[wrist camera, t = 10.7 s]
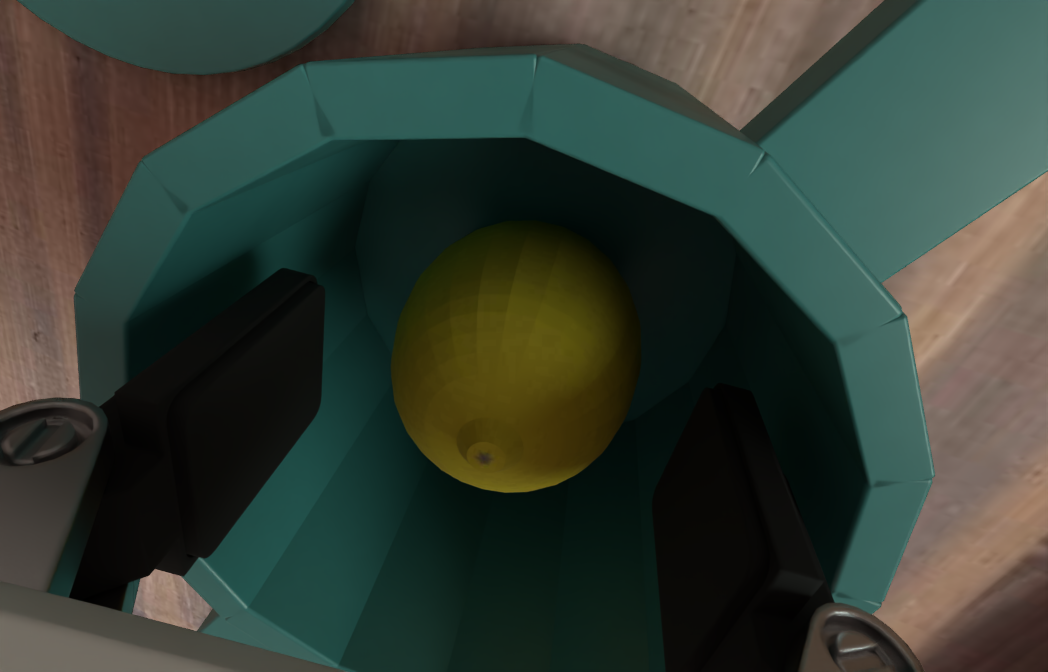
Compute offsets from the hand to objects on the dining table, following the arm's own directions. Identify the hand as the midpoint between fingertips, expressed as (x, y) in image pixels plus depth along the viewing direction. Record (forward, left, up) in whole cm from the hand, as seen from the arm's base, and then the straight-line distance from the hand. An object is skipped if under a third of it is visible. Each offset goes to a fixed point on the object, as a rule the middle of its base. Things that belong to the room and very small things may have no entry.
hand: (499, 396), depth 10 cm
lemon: (0, 0, -7) cm, 7 cm away
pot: (0, 0, -7) cm, 7 cm away
